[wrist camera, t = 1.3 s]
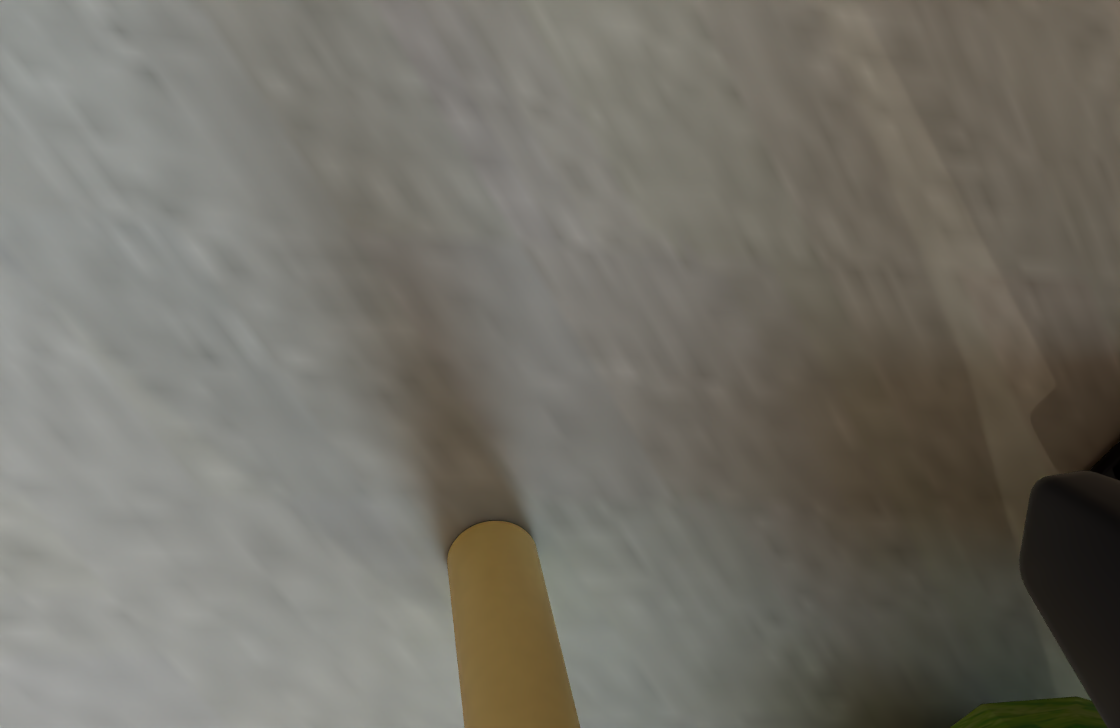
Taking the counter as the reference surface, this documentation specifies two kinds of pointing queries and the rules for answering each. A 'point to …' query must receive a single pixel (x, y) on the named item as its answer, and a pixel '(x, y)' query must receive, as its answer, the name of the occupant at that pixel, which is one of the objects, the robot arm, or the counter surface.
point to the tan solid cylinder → (506, 632)
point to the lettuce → (1035, 714)
